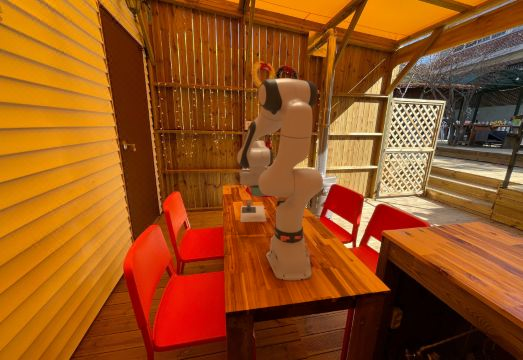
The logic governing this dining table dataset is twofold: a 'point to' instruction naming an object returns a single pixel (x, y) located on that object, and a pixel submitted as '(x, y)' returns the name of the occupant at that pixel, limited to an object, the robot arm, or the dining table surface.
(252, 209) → the post board
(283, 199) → the ammunition clip
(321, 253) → the dining table surface
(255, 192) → the collar
